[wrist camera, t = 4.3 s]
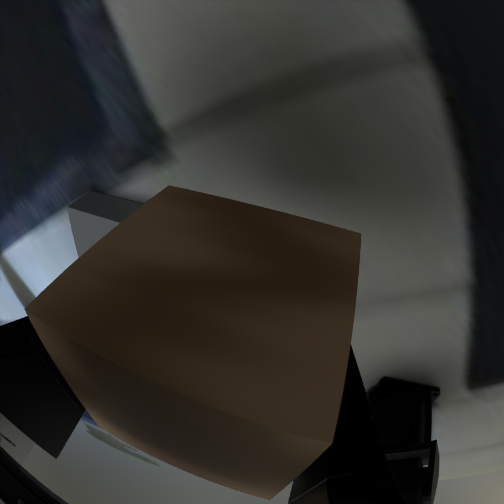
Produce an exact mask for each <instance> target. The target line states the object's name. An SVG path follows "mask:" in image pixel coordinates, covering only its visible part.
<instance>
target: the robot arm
mask: <svg viewBox="0 0 504 504" xmlns="http://www.w3.org/2000/svg"><path fill="white" fill-rule="evenodd" d="M439 395H440V389H438V388H434V387H428V386H423V385H418V384H413V383H408V382H404V381H399V380H394V379H390V378H382V379H381V380H380V381H379V382H378V384H377V385H376V386H375V388H374V389H373V390H372V391H371V392H369V393H368V394H367V395H366V391H365V388H364V385H363V381H362V378H361V375H360V371H359V368H358V365H357V362H356V359H355V356H354V352H353V349H352V346H351V345H350V352H349V359H348V365H347V371H346V377H345V383H344V389H343V394H342V400H341V405H340V410H339V415H338V420H337V424H336V429H335V434H334V438H333V443H332V444H331V445H330V446H329V447H328V448H327V449H326V450H325V451H324V452H323V453H322V454H321V455H320V456H319V457H318V458H317V459H316V460H315V461H314V462H313V463H312V464H311V465H310V466H308V467H307V468H306V469H305V470H304V471H303V472H302V473H301V474H300V475H299V476H298V477H296V478H295V479H294V480H293V484H292V489H291V493H290V497H289V501H288V504H433V502H434V497H435V493H436V488H437V482H438V477H439V450H438V444H437V440H433V441H431V432H432V402H433V401H434V400H435V399H436V398H437V397H438V396H439ZM85 410H86V409H85V407H84V406H83V405H82V403H81V402H80V400H79V399H78V398H77V396H76V395H75V393H74V392H73V390H72V389H71V388H70V386H69V385H68V383H67V382H66V380H65V379H64V377H63V376H62V374H61V373H60V371H59V369H58V368H57V366H56V365H55V363H54V361H53V360H52V358H51V356H50V355H49V353H48V351H47V350H46V348H45V346H44V345H43V343H42V341H41V339H40V338H39V336H38V334H37V332H36V330H35V328H34V327H33V325H32V323H31V321H30V319H29V317H28V316H27V317H24V318H21V319H18V320H16V321H13V322H10V323H7V324H5V325H1V326H0V504H68V503H67V502H65V501H64V500H63V499H61V498H60V497H59V496H57V495H56V494H54V493H53V492H52V491H51V490H50V489H48V488H47V487H46V486H44V485H43V484H42V483H41V482H39V481H38V480H37V479H36V478H35V477H34V476H32V475H31V474H30V473H29V472H28V471H27V470H26V469H24V468H23V467H22V466H21V465H22V464H23V462H24V461H25V459H26V458H27V456H28V455H29V453H30V452H31V450H32V449H33V447H34V446H35V444H37V445H39V446H40V447H41V448H42V449H44V450H45V451H46V452H48V453H49V454H50V455H51V456H53V457H54V458H56V459H57V457H58V456H59V454H60V453H61V451H62V449H63V447H64V446H65V444H66V442H67V441H68V439H69V437H70V435H71V433H72V432H73V430H74V429H75V427H76V425H77V424H78V422H79V420H80V419H81V417H82V415H83V413H84V412H85ZM423 465H428V467H423Z"/></svg>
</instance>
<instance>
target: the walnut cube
mask: <svg viewBox="0 0 504 504" xmlns="http://www.w3.org/2000/svg"><path fill="white" fill-rule="evenodd" d="M360 248H361V234H360V233H357V232H353V231H350V230H346V229H343V228H339V227H336V226H332V225H328V224H325V223H321V222H317V221H314V220H310V219H306V218H302V217H299V216H295V215H291V214H287V213H283V212H279V211H275V210H272V209H268V208H264V207H260V206H256V205H252V204H248V203H243V202H239V201H235V200H231V199H227V198H223V197H218V196H214V195H210V194H205V193H201V192H197V191H192V190H188V189H183V188H179V187H174V186H170V185H169V186H167V187H166V188H165V189H163V190H162V191H161V192H159V193H158V194H157V195H155V196H154V197H153V198H151V199H150V200H149V201H147V202H146V203H145V204H143V205H142V206H141V207H140V208H138V209H137V210H136V211H135V212H133V213H132V214H131V215H129V216H128V217H127V218H126V219H124V220H123V221H122V222H121V223H119V224H118V225H117V226H116V227H115V228H113V229H112V230H111V231H110V232H109V233H107V234H106V235H105V236H104V237H103V238H101V239H100V240H99V241H98V242H97V243H95V244H94V245H93V246H92V247H91V248H90V249H88V250H87V251H86V252H85V253H84V254H83V255H82V256H80V257H79V258H78V259H77V260H76V261H75V262H74V263H73V264H71V265H70V266H69V267H68V268H67V269H66V270H65V271H64V272H63V273H62V274H60V275H59V276H58V277H57V278H56V279H55V280H54V281H53V282H52V283H51V284H50V285H49V286H48V287H47V288H46V289H44V290H43V291H42V292H41V293H40V294H39V295H38V296H37V297H36V298H35V299H34V300H33V301H32V302H31V303H30V304H29V305H28V306H27V307H26V308H25V311H26V313H27V315H28V317H29V319H30V321H31V323H32V325H33V327H34V328H35V330H36V332H37V334H38V336H39V338H40V339H41V341H42V343H43V345H44V346H45V348H46V350H47V351H48V353H49V355H50V356H51V358H52V360H53V361H54V363H55V365H56V366H57V368H58V369H59V371H60V373H61V374H62V376H63V377H64V379H65V380H66V382H67V383H68V385H69V386H70V388H71V389H72V390H73V392H74V393H75V395H76V396H77V398H78V399H79V400H80V402H81V403H82V405H83V406H84V407H85V409H86V410H87V411H88V413H89V414H90V415H91V417H92V418H93V419H94V420H95V422H96V423H97V424H98V426H99V427H100V428H102V429H103V430H105V431H107V432H108V433H110V434H112V435H113V436H115V437H117V438H119V439H121V440H122V441H124V442H126V443H128V444H130V445H132V446H133V447H135V448H137V449H139V450H141V451H143V452H145V453H147V454H149V455H151V456H153V457H155V458H157V459H159V460H162V461H164V462H166V463H168V464H170V465H173V466H175V467H177V468H180V469H182V470H184V471H186V472H189V473H191V474H194V475H196V476H199V477H201V478H204V479H206V480H209V481H212V482H214V483H217V484H220V485H223V486H226V487H229V488H232V489H234V490H238V491H241V492H244V493H247V494H250V495H254V496H257V497H261V498H264V499H268V500H270V499H272V498H273V497H274V496H275V495H276V494H278V493H279V492H280V491H281V490H283V489H284V488H285V487H286V486H287V485H288V484H290V483H291V482H292V481H293V480H294V479H295V478H296V477H298V476H299V475H300V474H301V473H302V472H303V471H304V470H305V469H306V468H307V467H308V466H310V465H311V464H312V463H313V462H314V461H315V460H316V459H317V458H318V457H319V456H320V455H321V454H322V453H323V452H324V451H325V450H326V449H327V448H328V447H329V446H330V445H331V444H332V443H333V438H334V434H335V429H336V424H337V420H338V415H339V410H340V405H341V400H342V394H343V389H344V383H345V377H346V371H347V365H348V359H349V352H350V345H351V338H352V330H353V322H354V314H355V305H356V296H357V285H358V274H359V262H360Z"/></svg>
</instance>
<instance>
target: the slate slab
mask: <svg viewBox="0 0 504 504" xmlns="http://www.w3.org/2000/svg"><path fill="white" fill-rule="evenodd" d="M142 205H143V204H142V203H138V202H134V201H130V200H126V199H122V198H118V197H114V196H110V195H106V194H102V193H98V192H94V191H90V192H89V193H87V194H86V195H84V196H83V197H81V198H79V199H78V200H76V201H75V202H73V203H72V204H70V205H69V206H68V207H67V209H68V214H69V219H70V224H71V228H72V232H73V237H74V241H75V245H76V249H77V253H78V257H80V256H82V255H83V254H84V253H85V252H86V251H87V250H88V249H90V248H91V247H92V246H93V245H94V244H95V243H97V242H98V241H99V240H100V239H101V238H103V237H104V236H105V235H106V234H107V233H109V232H110V231H111V230H112V229H113V228H115V227H116V226H117V225H118V224H119V223H121V222H122V221H123V220H124V219H126V218H127V217H128V216H129V215H131V214H132V213H133V212H135V211H136V210H137V209H138V208H140V207H141V206H142Z"/></svg>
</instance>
